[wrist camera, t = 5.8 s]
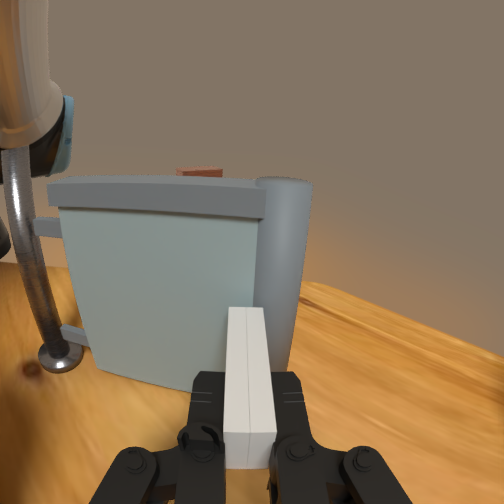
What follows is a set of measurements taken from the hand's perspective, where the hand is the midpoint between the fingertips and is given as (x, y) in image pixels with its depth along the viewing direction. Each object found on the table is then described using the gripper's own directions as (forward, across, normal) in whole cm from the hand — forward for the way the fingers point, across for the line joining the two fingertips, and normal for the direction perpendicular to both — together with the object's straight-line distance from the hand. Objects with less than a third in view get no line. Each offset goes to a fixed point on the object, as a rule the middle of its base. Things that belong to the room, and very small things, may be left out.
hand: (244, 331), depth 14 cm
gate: (+2, -5, -7) cm, 9 cm away
